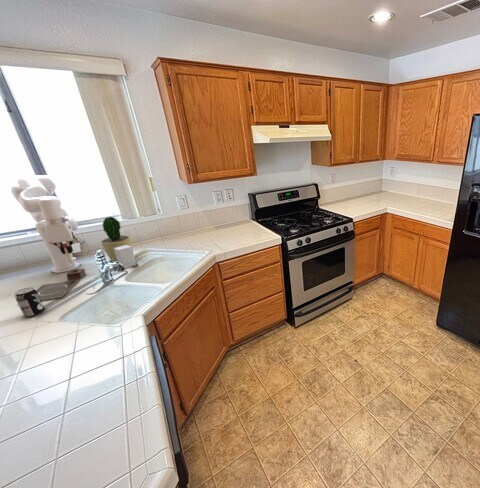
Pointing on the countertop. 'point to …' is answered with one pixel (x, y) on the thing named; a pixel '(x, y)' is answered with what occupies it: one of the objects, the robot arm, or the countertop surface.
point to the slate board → (55, 290)
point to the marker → (67, 253)
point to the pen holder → (76, 274)
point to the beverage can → (29, 302)
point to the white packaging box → (125, 256)
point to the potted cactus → (113, 237)
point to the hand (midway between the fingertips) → (67, 252)
